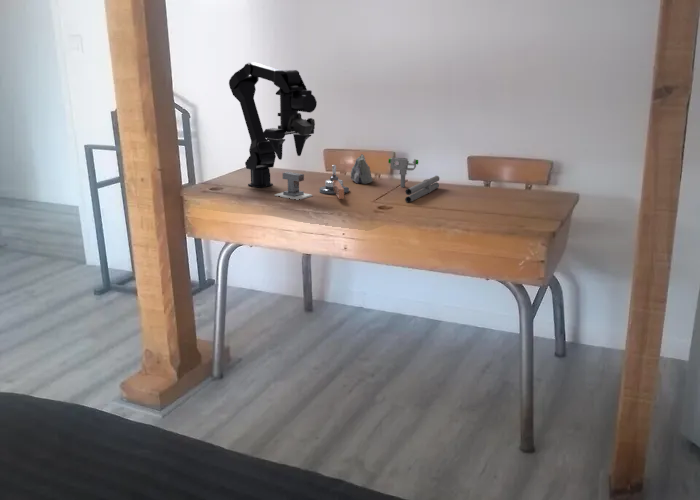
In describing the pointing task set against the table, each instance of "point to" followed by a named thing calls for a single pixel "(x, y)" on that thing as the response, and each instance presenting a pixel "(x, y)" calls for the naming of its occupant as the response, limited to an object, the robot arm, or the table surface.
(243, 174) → the table surface
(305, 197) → the mat
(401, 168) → the mechanical component
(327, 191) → the chuck base
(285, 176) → the grey stepped block
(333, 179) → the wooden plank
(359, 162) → the mineral rock
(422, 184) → the metal rod assembly
